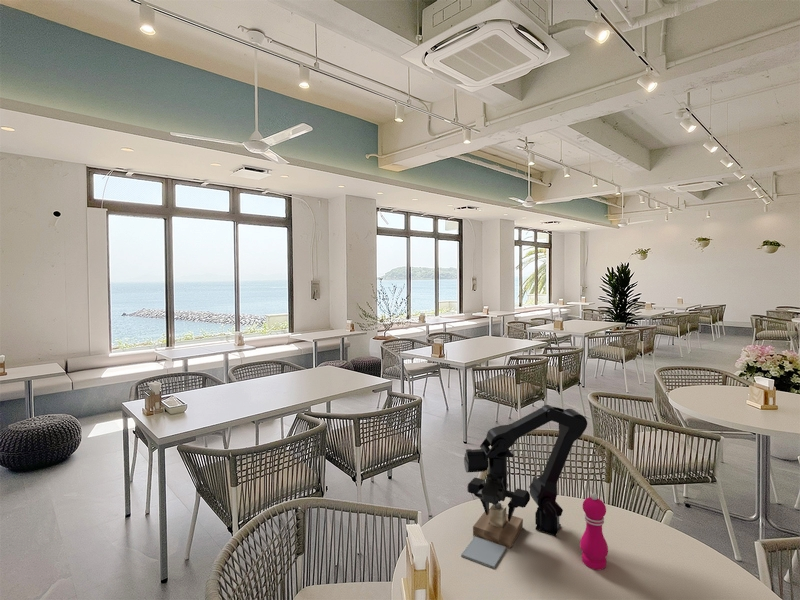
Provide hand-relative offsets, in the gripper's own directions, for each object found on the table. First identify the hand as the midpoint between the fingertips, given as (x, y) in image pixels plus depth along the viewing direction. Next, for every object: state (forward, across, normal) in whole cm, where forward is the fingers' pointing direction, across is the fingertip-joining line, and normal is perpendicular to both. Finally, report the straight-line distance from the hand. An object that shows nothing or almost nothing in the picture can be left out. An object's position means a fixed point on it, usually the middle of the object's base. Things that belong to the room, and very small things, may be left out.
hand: (498, 517), depth 135 cm
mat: (+4, 0, -12) cm, 13 cm away
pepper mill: (+5, +28, 0) cm, 28 cm away
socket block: (+4, 0, 0) cm, 4 cm away
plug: (+5, 0, 0) cm, 5 cm away
